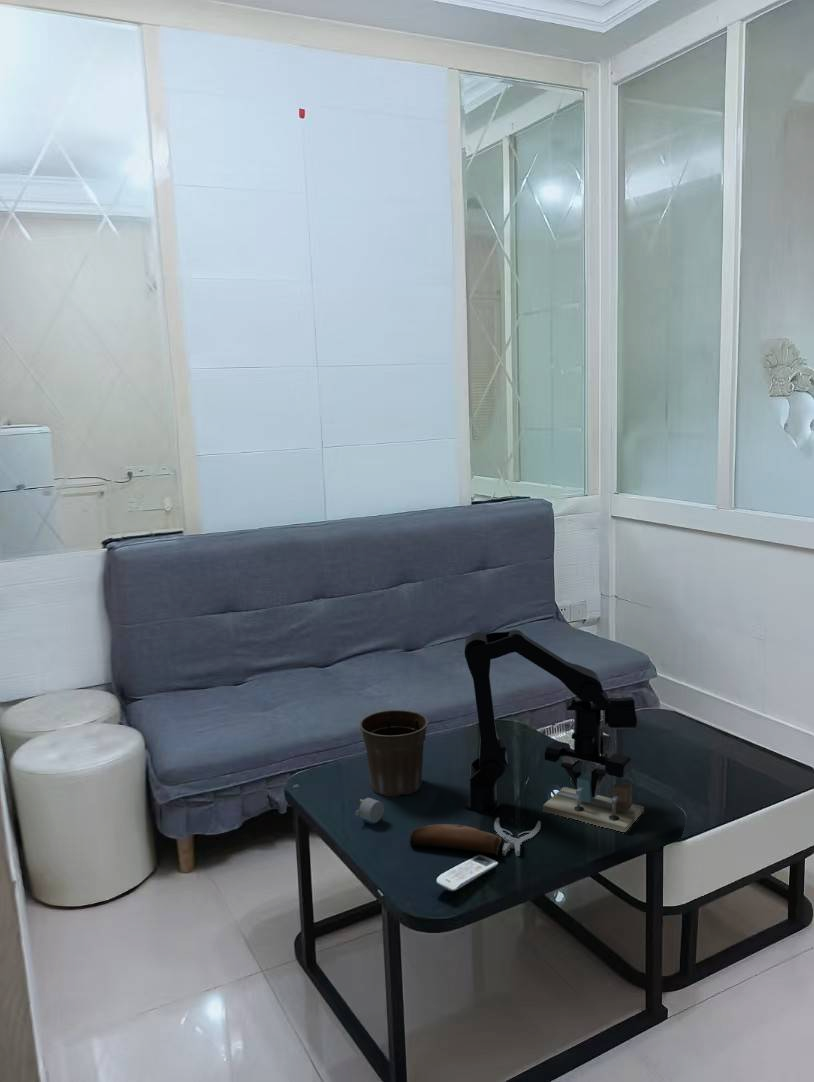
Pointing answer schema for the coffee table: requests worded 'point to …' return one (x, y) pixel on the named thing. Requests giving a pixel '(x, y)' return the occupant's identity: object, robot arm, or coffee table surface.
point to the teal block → (584, 788)
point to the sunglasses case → (456, 838)
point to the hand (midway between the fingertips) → (587, 794)
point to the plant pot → (394, 750)
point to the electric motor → (370, 810)
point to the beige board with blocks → (598, 807)
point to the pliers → (513, 841)
